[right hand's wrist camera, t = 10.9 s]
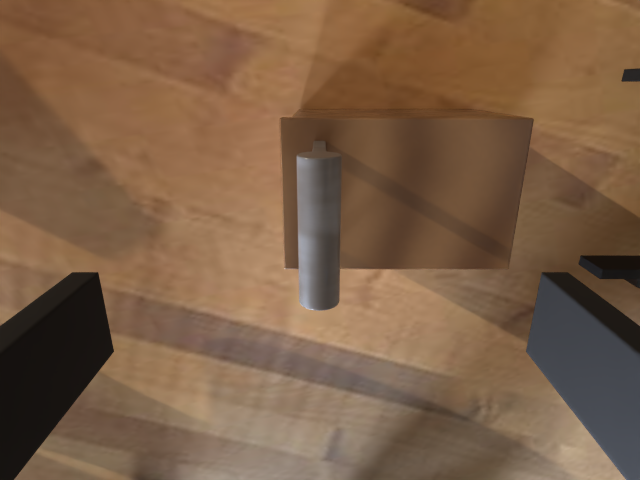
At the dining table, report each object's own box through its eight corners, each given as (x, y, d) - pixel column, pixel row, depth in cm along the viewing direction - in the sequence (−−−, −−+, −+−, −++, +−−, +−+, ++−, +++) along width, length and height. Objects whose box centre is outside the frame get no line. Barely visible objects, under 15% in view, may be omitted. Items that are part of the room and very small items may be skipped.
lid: (285, 263, 28) (271, 331, 20) (280, 117, 25) (262, 130, 17) (502, 264, 28) (572, 331, 20) (526, 117, 25) (620, 130, 17)
